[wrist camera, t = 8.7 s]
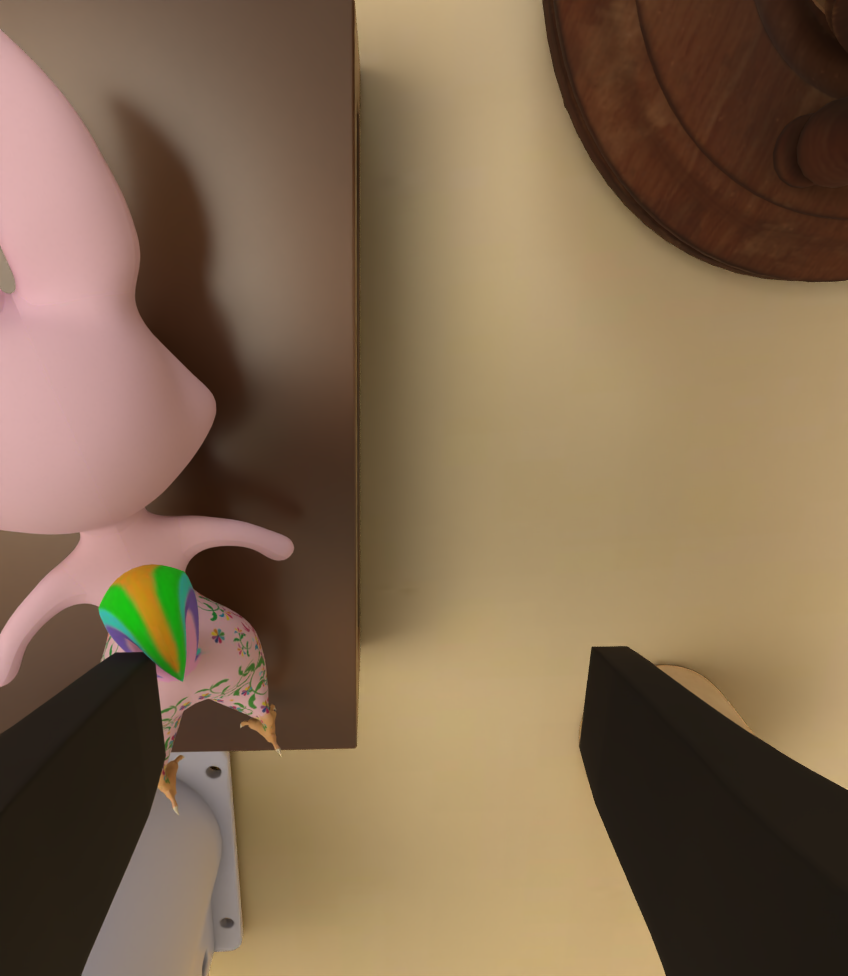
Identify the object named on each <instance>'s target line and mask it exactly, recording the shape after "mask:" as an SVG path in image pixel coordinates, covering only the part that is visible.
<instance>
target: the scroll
mask: <svg viewBox="0 0 848 976" xmlns="http://www.w3.org/2000/svg"><path fill="white" fill-rule="evenodd" d="M543 9H544V16H545V24H546V32H547V39H548V44H549V48H550V53H551V58H552V62H553V67H554V71H555V75H556V78H557V81H558V84H559V88H560V91H561V94H562V97H563V101H564V106H565V108H566V109H567V111H568V113H569V115H570V118H571V120H572V123H573V125H574V127H575V130H576V132H577V134H578V136H579V138H580V140H581V142H582V144H583V145H584V147H585V149H586V151H587V153H588V155H589V157H590V158H591V160H592V162H593V163H594V165H595V166H596V168H597V169H598V171H599V172H600V173H601V175H602V176H603V178H604V179H605V181H606V182H607V184H608V185H609V186H610V187H611V189H612V190H613V191H614V192H615V193H616V195H617V196H618V197H619V198H620V199H621V201H622V202H623V203H624V204H625V205H626V206H627V207H628V208H629V209H630V210H631V211H632V212H633V213H634V214H635V215H636V216H637V217H638V218H639V219H640V220H641V221H642V222H643V223H644V224H645V225H647V226H648V227H649V228H651V229H652V230H653V231H654V232H656V233H657V234H658V235H660V236H661V237H662V238H664V239H665V240H666V241H668V242H669V243H671V244H673V245H674V246H676V247H678V248H679V249H681V250H683V251H684V252H686V253H688V254H689V255H692V256H694V257H696V258H698V259H700V260H702V261H705V262H707V263H709V264H711V265H714V266H717V267H720V268H723V269H726V270H729V271H732V272H735V273H739V274H744V275H749V276H754V277H759V278H765V279H776V280H787V281H805V282H835V281H845V280H848V0H543Z"/></svg>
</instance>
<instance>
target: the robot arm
mask: <svg viewBox="0 0 848 976" xmlns="http://www.w3.org/2000/svg"><path fill="white" fill-rule="evenodd" d="M579 747H580V751H581V755H582V759H583V762H584V766H585V770H586V774H587V777H588V781H589V784H590V788H591V791H592V794H593V798H594V801H595V804H596V806H597V809H598V811H599V814H600V816H601V819H602V821H603V823H604V826H605V828H606V831H607V833H608V835H609V838H610V840H611V842H612V845H613V847H614V850H615V852H616V854H617V857H618V859H619V861H620V864H621V866H622V868H623V871H624V873H625V875H626V878H627V880H628V882H629V885H630V887H631V889H632V892H633V894H634V896H635V899H636V901H637V903H638V906H639V908H640V910H641V913H642V915H643V917H644V920H645V922H646V924H647V927H648V929H649V931H650V934H651V936H652V939H653V941H654V944H655V947H656V949H657V952H658V955H659V957H660V960H661V962H662V965H663V968H664V971H665V974H666V976H848V790H846V789H845V788H843V787H841V786H839V785H837V784H836V783H834V782H832V781H830V780H828V779H826V778H825V777H823V776H821V775H819V774H817V773H815V772H814V771H812V770H810V769H808V768H806V767H805V766H803V765H801V764H800V763H798V762H796V761H794V760H793V759H791V758H789V757H788V756H786V755H784V754H783V753H781V752H780V751H778V750H776V749H775V748H773V747H772V746H770V745H769V744H767V743H765V742H764V741H762V740H761V739H759V738H758V737H756V736H754V735H753V734H751V733H750V732H748V731H747V730H745V729H744V728H742V727H741V726H739V725H738V724H736V723H735V722H733V721H732V720H730V719H729V718H727V717H726V716H724V715H723V714H722V713H720V712H719V711H717V710H716V709H714V708H713V707H712V706H710V705H709V704H707V703H706V702H705V701H703V700H702V699H700V698H699V697H698V696H696V695H695V694H693V693H692V692H691V691H689V690H688V689H686V688H685V687H684V686H682V685H681V684H680V683H678V682H677V681H676V680H674V679H673V678H671V677H670V676H669V675H667V674H666V673H665V672H663V671H662V670H661V669H659V668H658V667H656V666H655V665H654V664H652V663H651V662H650V661H648V660H647V659H645V658H644V657H642V656H641V655H640V654H638V653H637V652H635V651H633V650H632V649H630V648H629V647H627V646H614V647H592V648H591V656H590V664H589V672H588V680H587V688H586V696H585V704H584V712H583V720H582V728H581V736H580V744H579ZM179 755H183V756H184V757H185V758H183V759H182V760H180V761H179V762H178V770H177V773H176V792H177V793H176V795H175V800H176V802H177V805H178V812H179V815H178V814H177V813H176V812H175V811H174V810H173V807H172V803H171V800H170V799H168V798H167V797H166V795H165V794H164V793H163V792H161V791H160V790H159V788H158V783H159V780H160V776H161V772H162V769H163V765H164V761H165V758H166V751H165V742H164V733H163V724H162V715H161V707H160V698H159V689H158V680H157V671H156V663H155V662H153V661H152V660H151V659H150V658H149V657H148V656H147V655H146V654H145V653H144V652H115V653H114V654H112V655H111V656H109V657H108V658H106V659H105V660H103V661H102V662H100V663H99V664H97V665H96V666H95V667H93V668H92V669H90V670H89V671H88V672H86V673H85V674H84V675H82V676H81V677H79V678H78V679H77V680H75V681H74V682H73V683H71V684H70V685H69V686H67V687H66V688H64V689H63V690H62V691H60V692H59V693H58V694H56V695H55V696H54V697H52V698H51V699H49V700H48V701H47V702H45V703H44V704H42V705H41V706H40V707H38V708H37V709H35V710H34V711H33V712H31V713H30V714H29V715H27V716H26V717H24V718H23V719H22V720H20V721H19V722H17V723H16V724H15V725H13V726H12V727H10V728H9V729H7V730H6V731H4V732H3V733H1V734H0V976H208V975H209V971H210V966H211V962H212V958H213V953H214V952H219V951H232V950H235V949H237V948H239V947H240V945H241V943H242V938H243V921H242V908H241V895H240V882H239V869H238V856H237V843H236V830H235V817H234V804H233V791H232V778H231V765H230V753H229V751H216V752H171V753H170V756H169V760H168V763H169V762H170V761H173V760H175V759H176V758H177V757H178V756H179ZM211 766H216V767H218V768H220V770H212V769H211V768H210V767H211ZM228 918H230V919H228Z"/></svg>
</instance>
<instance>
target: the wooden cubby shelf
mask: <svg viewBox="0 0 848 976" xmlns="http://www.w3.org/2000/svg"><path fill="white" fill-rule="evenodd" d="M0 29H1V30H2V31H3V32H4V33H5V34H6V35H7V36H8V37H9V38H10V39H11V40H12V41H13V42H14V43H15V44H16V45H18V46H19V47H20V48H21V49H22V50H23V51H24V52H25V53H26V54H27V55H28V56H29V57H30V58H31V59H32V60H33V61H34V62H35V63H36V64H37V65H38V66H39V67H40V68H41V70H42V71H43V72H44V73H45V74H46V75H47V76H48V77H49V78H50V80H51V81H52V82H53V83H54V84H55V85H56V86H57V88H58V89H59V90H60V91H61V93H62V94H63V95H64V96H65V98H66V99H67V100H68V102H69V103H70V104H71V106H72V107H73V108H74V110H75V111H76V112H77V114H78V115H79V117H80V118H81V120H82V121H83V123H84V125H85V126H86V128H87V129H88V131H89V133H90V134H91V136H92V138H93V139H94V141H95V143H96V145H97V147H98V149H99V151H100V152H101V154H102V156H103V158H104V160H105V162H106V163H107V165H108V167H109V169H110V171H111V172H112V174H113V176H114V178H115V180H116V182H117V184H118V186H119V188H120V190H121V192H122V194H123V196H124V199H125V201H126V203H127V206H128V208H129V211H130V214H131V217H132V220H133V223H134V226H135V229H136V233H137V236H138V241H139V247H140V266H139V272H138V277H137V282H136V288H135V302H136V306H137V309H138V312H139V314H140V316H141V318H142V320H143V321H144V323H145V325H146V326H147V327H148V329H149V330H150V331H151V332H152V334H153V335H154V336H155V337H156V338H157V339H158V340H159V341H160V342H161V343H162V344H163V345H164V346H165V347H166V348H167V349H168V350H169V351H170V352H171V353H172V354H173V355H174V356H175V357H176V358H177V359H178V360H179V361H180V362H181V363H182V364H183V365H184V366H185V367H186V368H187V369H188V370H189V371H190V372H191V373H192V374H193V375H194V376H195V377H196V378H197V379H198V380H200V381H201V382H202V383H203V384H204V385H205V386H206V387H207V388H208V389H209V390H210V392H211V393H212V394H213V396H214V399H215V401H216V415H215V418H214V421H213V424H212V426H211V428H210V430H209V432H208V434H207V436H206V438H205V440H204V441H203V443H202V445H201V446H200V448H199V449H198V451H197V452H196V454H195V455H194V457H193V458H192V459H191V461H190V462H189V463H188V465H187V466H186V467H185V468H184V469H183V471H182V472H181V473H180V474H179V475H178V477H177V478H176V479H175V480H174V481H173V482H172V483H171V485H170V486H169V487H168V488H167V489H166V490H165V491H164V492H163V493H162V494H161V495H160V496H158V497H157V498H156V499H155V500H153V501H152V502H151V503H150V504H148V505H147V506H145V509H146V510H147V511H148V512H150V513H153V514H155V515H161V516H206V517H215V518H224V519H232V520H238V521H243V522H247V523H250V524H254V525H257V526H260V527H262V528H265V529H268V530H270V531H273V532H276V533H279V534H281V535H284V536H286V537H287V538H289V539H290V540H291V541H292V543H293V545H294V551H293V553H292V554H291V556H290V557H289V558H287V559H285V560H280V561H277V560H273V559H270V558H268V557H266V556H265V555H263V554H261V553H260V552H258V551H256V550H253V549H251V548H246V547H241V546H218V547H212V548H208V549H205V550H202V551H200V552H199V553H197V554H196V555H195V556H194V557H193V558H191V560H190V561H189V563H188V564H187V567H186V570H185V573H186V575H187V576H188V578H189V580H190V582H191V585H192V587H193V589H194V590H196V591H197V592H198V593H200V594H201V595H203V596H204V597H206V598H208V599H210V600H212V601H214V602H216V603H218V604H220V605H222V606H225V607H227V608H229V609H231V610H232V611H234V612H236V613H237V614H239V615H240V616H242V617H243V618H244V619H245V620H246V621H248V622H249V623H250V624H251V626H252V627H253V628H254V630H255V631H256V633H257V636H258V638H259V640H260V643H261V646H262V650H263V654H264V658H265V663H266V672H267V683H268V705H269V710H270V706H271V704H273V705H274V706H275V708H276V710H275V709H274V711H275V712H276V718H275V734H276V742H277V744H278V746H279V747H280V750H306V749H351V748H356V746H357V730H358V702H359V673H360V60H359V47H358V34H357V23H356V9H355V1H354V0H0ZM15 288H16V285H15V280H14V276H13V274H12V271H11V269H10V266H9V264H8V262H7V260H6V258H5V255H4V253H3V251H2V249H1V246H0V289H1V290H2V291H3V292H5V293H8V294H11V293H13V292H14V291H15ZM79 541H80V532H79V533H71V534H32V533H22V532H12V531H4V530H0V634H1V632H2V630H3V628H4V627H5V625H6V623H7V622H8V620H9V619H10V617H11V616H12V615H13V613H14V612H15V610H16V609H17V608H18V607H19V605H20V604H21V603H22V602H23V601H24V600H25V598H26V597H27V596H28V595H29V594H30V593H31V592H32V590H33V589H34V588H35V587H36V586H37V585H38V583H39V582H40V581H41V580H42V579H43V578H44V577H45V576H46V575H47V574H48V573H49V572H50V571H51V570H53V569H54V568H55V567H56V566H57V565H59V564H60V563H61V562H62V561H63V560H64V559H65V558H66V557H67V556H68V555H69V554H70V553H71V552H72V551H73V550H74V549H75V547H76V546H77V545H78V543H79ZM98 608H99V607H98V606H96V605H93V604H86V603H84V604H76V605H73V606H70V607H67V608H65V609H63V610H62V611H60V612H59V613H57V614H56V615H55V616H53V617H52V618H51V619H50V620H48V621H47V622H46V623H45V624H44V625H43V626H42V627H41V628H40V629H39V630H38V631H37V632H36V634H35V635H34V636H33V637H32V639H31V640H30V642H29V643H28V645H27V647H26V649H25V652H24V654H23V657H22V661H21V665H20V668H19V671H18V673H17V675H16V676H15V678H14V679H13V680H12V681H11V682H10V683H8V684H7V685H4V686H2V687H0V734H1V733H3V732H4V731H6V730H7V729H9V728H10V727H12V726H13V725H15V724H16V723H17V722H19V721H20V720H22V719H23V718H24V717H26V716H27V715H29V714H30V713H31V712H33V711H34V710H35V709H37V708H38V707H40V706H41V705H42V704H44V703H45V702H47V701H48V700H49V699H51V698H52V697H54V696H55V695H56V694H58V693H59V692H60V691H62V690H63V689H64V688H66V687H67V686H69V685H70V684H71V683H73V682H74V681H75V680H77V679H78V678H79V677H81V676H82V675H84V674H85V673H86V672H88V671H89V670H90V669H92V668H93V667H95V666H96V665H97V664H99V663H100V662H101V659H102V656H103V653H104V649H105V646H106V642H107V637H108V631H107V630H106V628H105V625H104V623H103V621H102V619H101V617H100V614H99V609H98ZM251 718H253V717H251V716H249V715H247V714H244V713H242V712H240V711H237V710H235V709H232V708H230V707H227V706H225V705H222V704H220V703H217V702H215V701H213V700H211V699H206V700H203V701H200V702H198V703H195V704H193V705H192V706H190V707H189V708H187V709H186V710H184V711H183V714H182V718H181V721H180V724H179V728H178V730H177V734H176V737H175V740H174V743H173V746H172V750H171V752H216V751H261V750H275V748H274V746H273V744H272V743H271V742H268V741H267V740H266V739H265V737H263V736H262V735H261V734H260V733H259V732H257V731H256V730H254V729H251V728H250V727H249V725H245V726H243V727H241V728H240V724H241V722H243V721H248V720H249V719H251Z"/></svg>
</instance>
